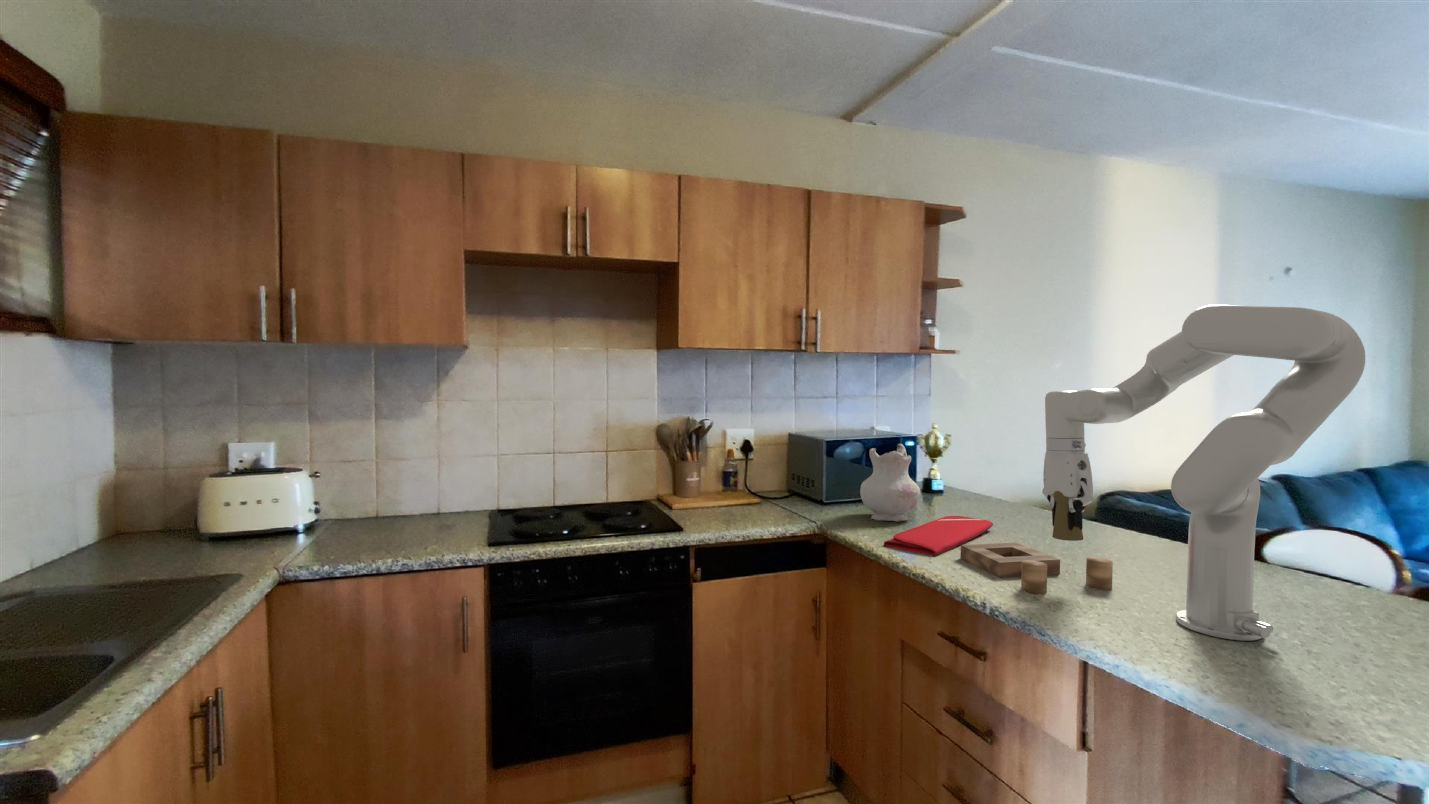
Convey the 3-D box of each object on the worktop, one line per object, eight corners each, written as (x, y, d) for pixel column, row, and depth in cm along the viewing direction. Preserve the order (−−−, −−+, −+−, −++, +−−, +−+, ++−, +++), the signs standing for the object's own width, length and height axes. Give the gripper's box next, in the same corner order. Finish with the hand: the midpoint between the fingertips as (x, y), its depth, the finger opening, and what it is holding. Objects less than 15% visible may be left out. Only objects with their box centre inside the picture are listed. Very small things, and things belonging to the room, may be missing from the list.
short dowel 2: (1117, 589, 136) (1118, 562, 136) (1098, 590, 135) (1098, 563, 135) (1099, 582, 141) (1100, 556, 141) (1080, 583, 140) (1081, 557, 140)
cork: (1088, 541, 134) (1086, 490, 134) (1057, 540, 135) (1056, 490, 135) (1077, 535, 140) (1076, 486, 140) (1048, 534, 141) (1047, 486, 141)
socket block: (1059, 573, 147) (1060, 559, 147) (999, 577, 144) (1000, 562, 144) (1015, 555, 163) (1015, 542, 163) (960, 558, 160) (960, 545, 160)
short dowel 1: (1052, 593, 133) (1052, 566, 133) (1031, 595, 132) (1032, 567, 132) (1035, 586, 138) (1036, 559, 138) (1016, 587, 137) (1016, 560, 137)
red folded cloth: (882, 547, 172) (882, 534, 172) (944, 524, 202) (945, 512, 202) (936, 558, 161) (936, 544, 161) (994, 532, 191) (994, 520, 191)
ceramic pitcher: (870, 512, 223) (865, 443, 223) (926, 513, 214) (921, 441, 214) (856, 524, 203) (851, 449, 203) (917, 526, 195) (912, 447, 195)
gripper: (1110, 447, 130) (1112, 534, 130) (1052, 443, 147) (1054, 520, 146) (1079, 448, 129) (1081, 536, 129) (1024, 444, 145) (1026, 522, 145)
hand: (1067, 527), depth 137 cm, fingers closed on cork, 3 cm apart
